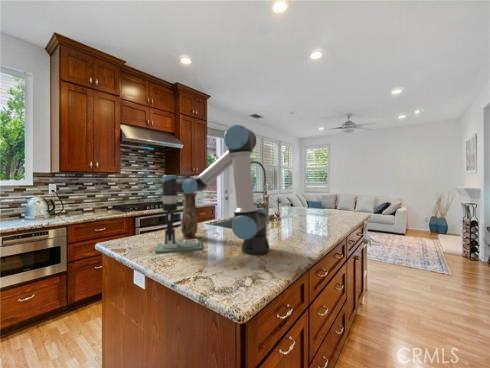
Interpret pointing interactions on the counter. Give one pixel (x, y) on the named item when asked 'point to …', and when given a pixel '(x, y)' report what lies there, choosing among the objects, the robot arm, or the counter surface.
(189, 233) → the vase
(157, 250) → the board
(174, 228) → the plug
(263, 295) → the counter surface
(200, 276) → the counter surface
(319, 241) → the counter surface
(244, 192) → the robot arm
